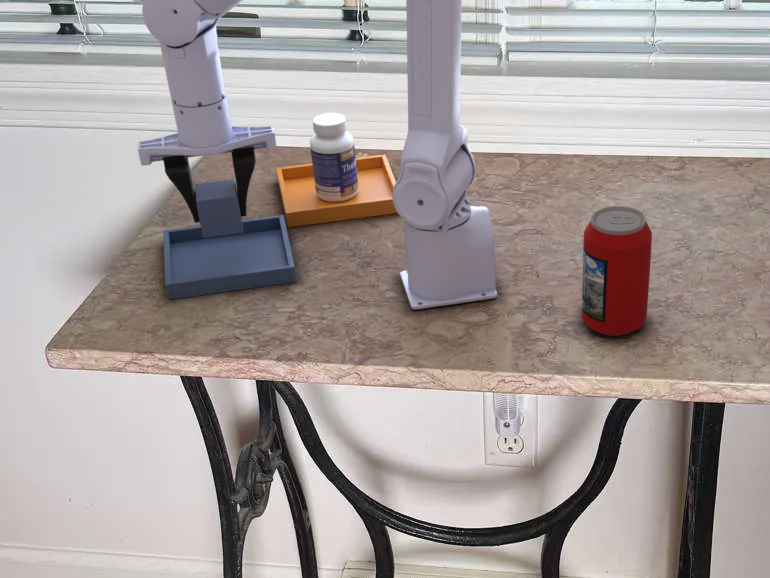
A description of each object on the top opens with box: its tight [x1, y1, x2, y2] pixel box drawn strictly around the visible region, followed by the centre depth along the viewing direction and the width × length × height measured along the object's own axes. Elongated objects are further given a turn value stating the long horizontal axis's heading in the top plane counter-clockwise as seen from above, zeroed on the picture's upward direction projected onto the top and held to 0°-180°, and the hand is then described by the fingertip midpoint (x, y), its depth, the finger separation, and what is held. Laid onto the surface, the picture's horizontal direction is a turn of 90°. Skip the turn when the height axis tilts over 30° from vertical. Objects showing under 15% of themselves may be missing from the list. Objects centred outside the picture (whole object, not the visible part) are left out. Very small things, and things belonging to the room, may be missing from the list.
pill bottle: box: [309, 112, 358, 202], centre depth 146 cm, size 5×5×10 cm
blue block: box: [194, 178, 243, 238], centre depth 133 cm, size 4×4×4 cm
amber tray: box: [275, 154, 398, 228], centre depth 149 cm, size 14×13×2 cm
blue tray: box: [162, 214, 298, 300], centre depth 136 cm, size 14×13×2 cm
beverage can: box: [581, 205, 653, 337], centre depth 120 cm, size 7×7×12 cm
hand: (220, 215), depth 133 cm, fingers closed on blue block, 4 cm apart
